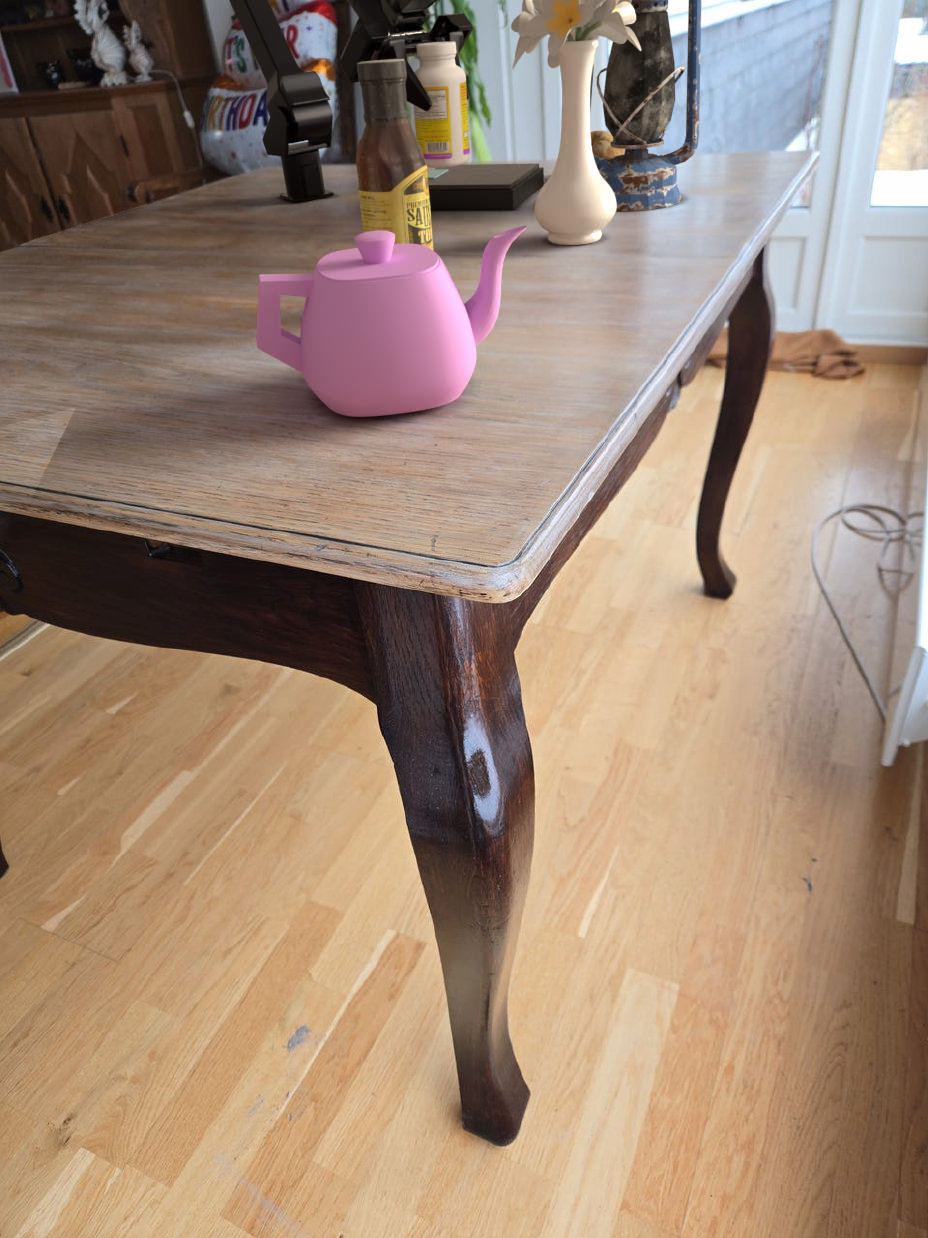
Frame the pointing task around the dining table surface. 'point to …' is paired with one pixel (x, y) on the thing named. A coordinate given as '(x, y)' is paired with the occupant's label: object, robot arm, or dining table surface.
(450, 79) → the supplement bottle
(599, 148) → the bread roll
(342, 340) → the teapot
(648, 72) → the lantern
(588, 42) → the flower vase
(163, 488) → the dining table surface
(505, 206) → the kitchen scale
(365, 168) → the sauce bottle
